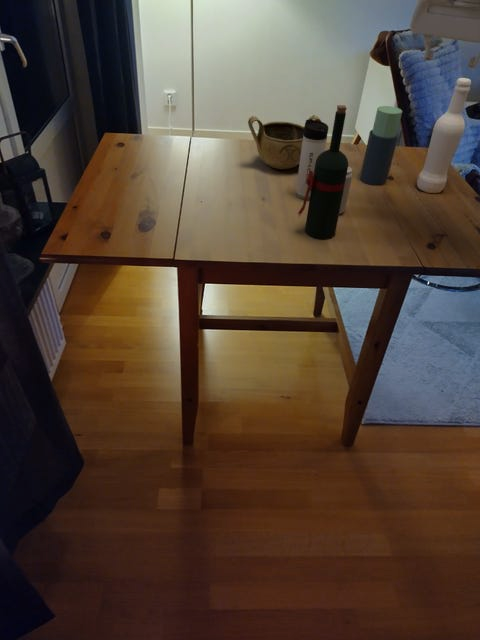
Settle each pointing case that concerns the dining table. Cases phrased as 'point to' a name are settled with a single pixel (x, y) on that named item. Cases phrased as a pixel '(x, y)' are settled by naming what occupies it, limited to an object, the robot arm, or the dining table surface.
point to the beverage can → (346, 190)
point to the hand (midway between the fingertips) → (449, 63)
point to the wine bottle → (327, 185)
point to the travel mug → (310, 153)
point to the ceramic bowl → (279, 142)
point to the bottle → (444, 141)
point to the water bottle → (377, 159)
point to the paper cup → (387, 121)
